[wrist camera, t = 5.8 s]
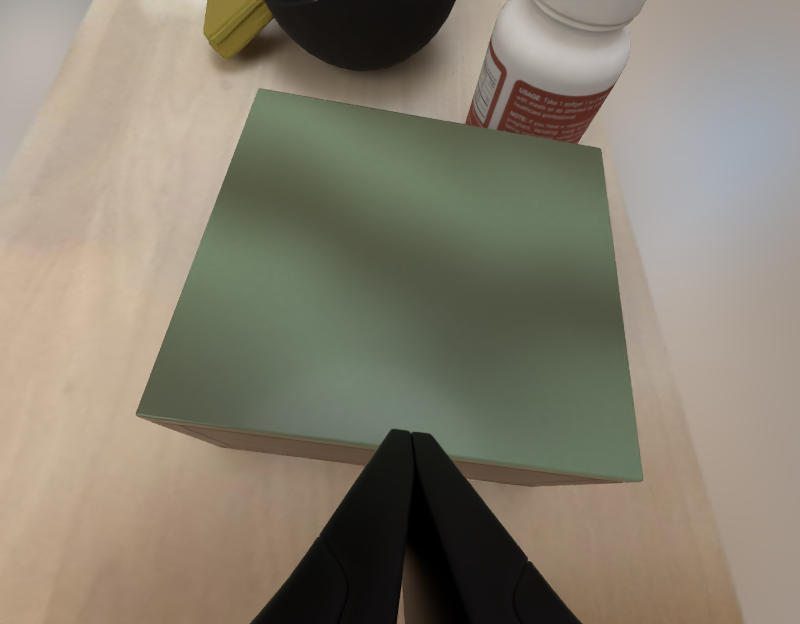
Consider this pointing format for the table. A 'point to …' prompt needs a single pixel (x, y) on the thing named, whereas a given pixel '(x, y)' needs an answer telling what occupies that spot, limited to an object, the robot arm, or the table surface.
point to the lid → (406, 294)
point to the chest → (364, 456)
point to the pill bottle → (552, 66)
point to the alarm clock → (332, 27)
